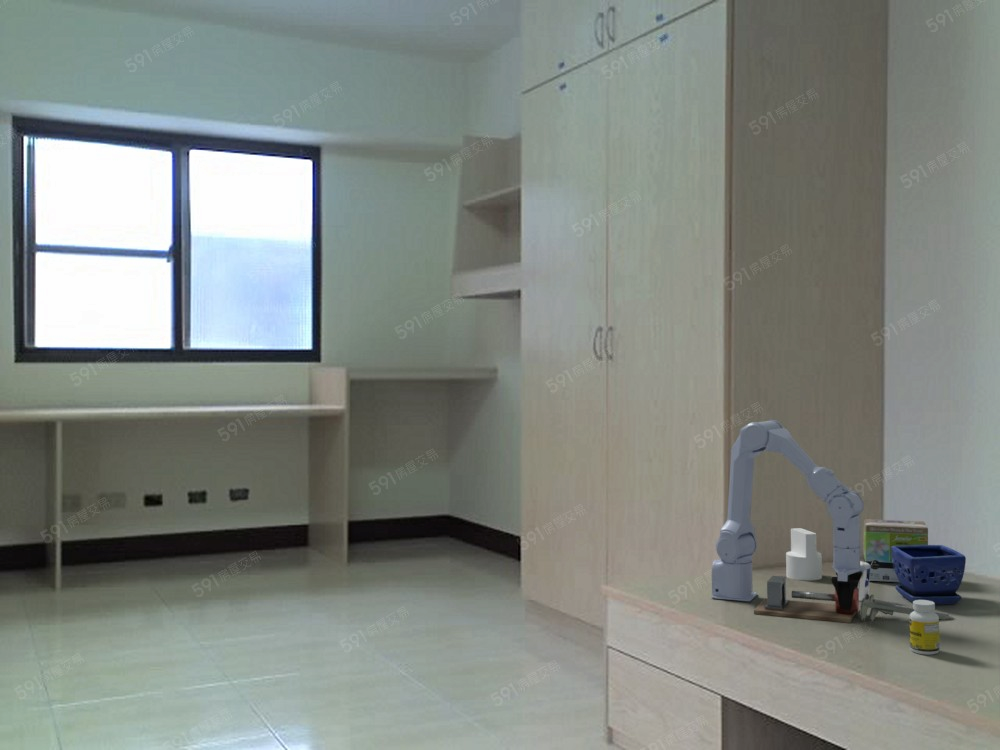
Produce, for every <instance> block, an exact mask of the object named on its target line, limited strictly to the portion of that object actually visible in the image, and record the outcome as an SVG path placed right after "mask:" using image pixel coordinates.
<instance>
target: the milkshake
mask: <svg viewBox="0 0 1000 750" xmlns="http://www.w3.org/2000/svg"><path fill="white" fill-rule="evenodd" d="M873 560H874V559H873ZM872 563H873V561H872ZM872 563H871V565H872ZM860 566H866V570H865V571H861V572H862V576H861V578H860V580H859V583H858V586H857V588H858V589H859V602H862V600H863V598H866V594H869V595H870V582H871V581H870V571H871V566H870V564H868V563H866V562H864V561H861V560H860Z"/></svg>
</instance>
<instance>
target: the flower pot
mask: <svg viewBox="0 0 1000 750" xmlns="http://www.w3.org/2000/svg"><path fill="white" fill-rule="evenodd" d="M891 556H892V562H893V567H894V570H895V573H896V576H897V578H898V580H899V582H898V583H899V584H900V585H899V584H898V585H895V587H894V588H895V590H896V591H897V592H898V593H899V594H900V595H901V596H902V597H903V598H905V599H906V600H907V601H909V602H911V603H913V601H915V600H928V601H932V602H934V603H935V606H936V605H937V606H938V605H955V604H957V603H959V602H960V601H961V600H962V596H961V595H960V594H958V593H957V591H958V589H959V588H960V586H961V584H962V581H963V578H964V574H965V569H966V561H967V559H966V555H964V554H963V553H961V552H959V551H957V550H956V549H953V548H950V547H949V546H945V545H943V544H928V545H907V546H892V547H891Z"/></svg>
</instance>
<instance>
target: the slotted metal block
mask: <svg viewBox="0 0 1000 750" xmlns="http://www.w3.org/2000/svg"><path fill="white" fill-rule="evenodd" d="M766 590H767V591H766V593H767V594H766V595H767V596H766V597H767V604H766V605H765V609H769V610H780V611H783V609H784V608H785V607H786V606H787V604H788V603H789V599H787V576H782V575H781V576H780V575H772V576H771V577H770V578H769V579H767V581H766Z"/></svg>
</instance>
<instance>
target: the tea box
mask: <svg viewBox="0 0 1000 750" xmlns="http://www.w3.org/2000/svg"><path fill="white" fill-rule="evenodd" d="M907 545H929V528H928V526H927V525H926V523H925V521H921V520H920V521H918V520H901V519H899V520H898V519H895V520H894V519H873V518H872V519H870V518H865V519H864V520H863V562H866V563H868V564H870V566H871V571H870V582H889V583H890V582H891V583H900V582H899V580H898V578H897V576H896V573H895V570H894V567H893V562H892V556H891V547H892V546H907ZM873 559H874V560H873ZM872 561H873V563H872ZM871 563H872V565H871Z"/></svg>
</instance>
